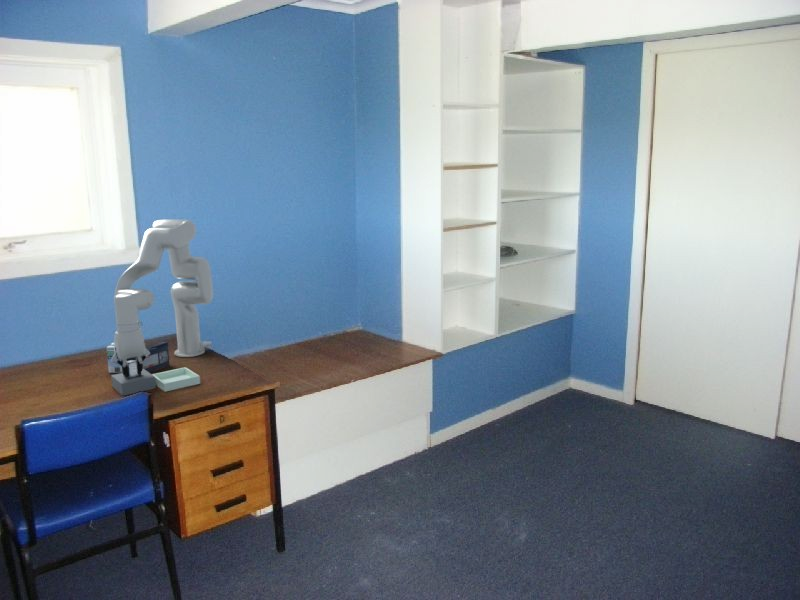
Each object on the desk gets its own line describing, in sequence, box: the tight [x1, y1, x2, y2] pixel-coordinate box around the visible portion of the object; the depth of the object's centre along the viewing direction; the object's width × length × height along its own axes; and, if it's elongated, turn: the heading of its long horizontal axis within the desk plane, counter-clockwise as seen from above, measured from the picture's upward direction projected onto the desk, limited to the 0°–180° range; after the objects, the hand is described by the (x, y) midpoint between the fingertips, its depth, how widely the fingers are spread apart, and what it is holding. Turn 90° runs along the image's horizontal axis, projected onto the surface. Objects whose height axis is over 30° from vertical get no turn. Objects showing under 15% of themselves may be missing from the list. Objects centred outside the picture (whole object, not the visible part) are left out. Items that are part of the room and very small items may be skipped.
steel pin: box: [126, 360, 139, 379], centre depth 253 cm, size 4×4×10 cm
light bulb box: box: [106, 342, 127, 374], centre depth 273 cm, size 11×7×11 cm, turn 92°
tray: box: [151, 367, 201, 392], centre depth 259 cm, size 14×14×3 cm
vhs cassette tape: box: [127, 341, 170, 374], centre depth 272 cm, size 18×3×10 cm, turn 147°
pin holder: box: [110, 369, 157, 396], centre depth 254 cm, size 12×12×4 cm
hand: (132, 374), depth 253 cm, fingers closed on steel pin, 4 cm apart
